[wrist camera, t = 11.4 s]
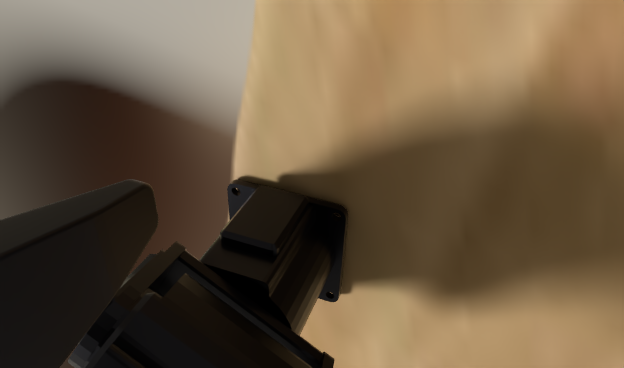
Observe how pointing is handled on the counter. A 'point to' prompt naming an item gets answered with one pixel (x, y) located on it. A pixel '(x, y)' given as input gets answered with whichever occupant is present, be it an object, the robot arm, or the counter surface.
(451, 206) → the counter surface
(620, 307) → the counter surface
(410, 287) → the counter surface
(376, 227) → the counter surface
